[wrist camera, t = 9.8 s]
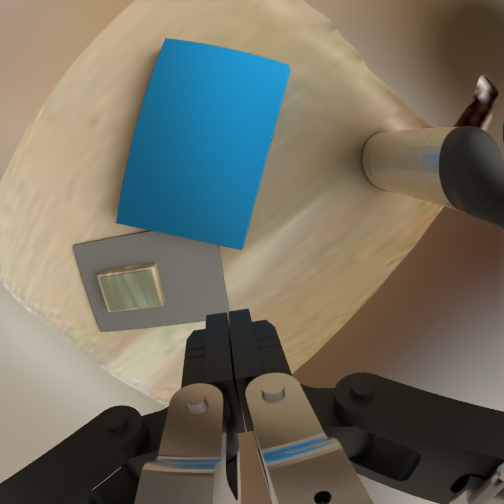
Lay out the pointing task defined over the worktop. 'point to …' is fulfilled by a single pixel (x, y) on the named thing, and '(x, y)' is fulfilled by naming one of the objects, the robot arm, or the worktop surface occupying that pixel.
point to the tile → (132, 287)
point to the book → (202, 142)
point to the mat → (171, 274)
